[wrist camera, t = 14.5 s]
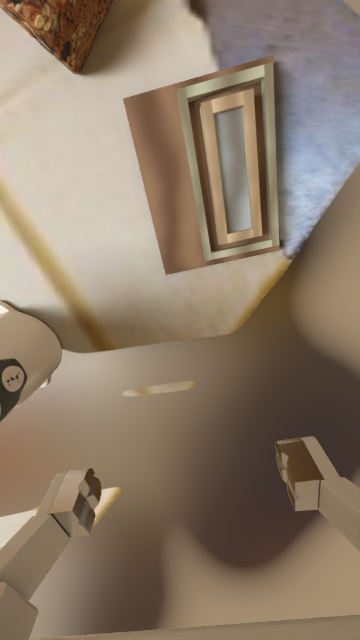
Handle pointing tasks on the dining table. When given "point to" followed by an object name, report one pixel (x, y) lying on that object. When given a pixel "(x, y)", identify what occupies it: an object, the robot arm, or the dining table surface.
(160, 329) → the dining table surface
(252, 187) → the frame
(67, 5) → the bread
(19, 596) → the robot arm
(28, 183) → the dining table surface
